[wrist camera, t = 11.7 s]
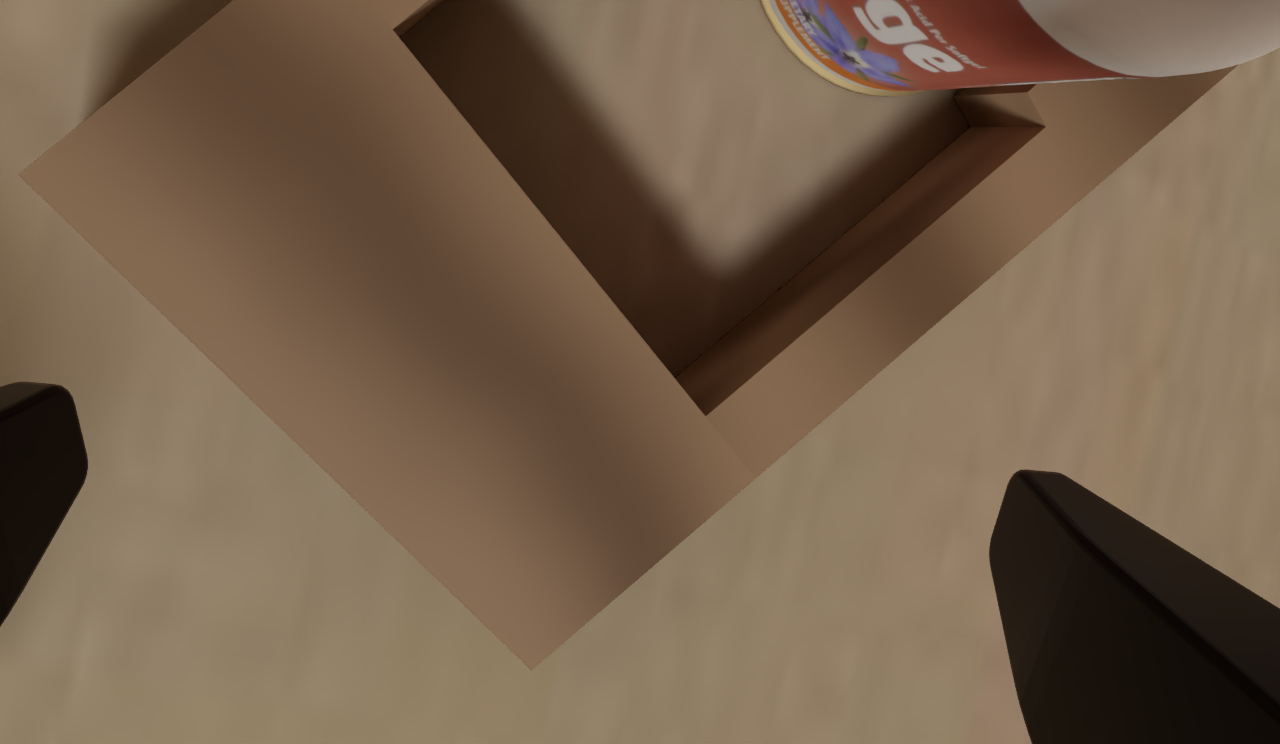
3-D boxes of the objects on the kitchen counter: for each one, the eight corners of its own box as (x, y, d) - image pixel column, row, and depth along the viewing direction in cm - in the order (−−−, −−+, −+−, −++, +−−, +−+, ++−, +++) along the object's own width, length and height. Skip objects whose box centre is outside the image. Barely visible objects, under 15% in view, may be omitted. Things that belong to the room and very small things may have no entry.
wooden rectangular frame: (515, 608, 21) (531, 670, 18) (71, 167, 16) (18, 174, 14) (1196, 27, 21) (1296, 14, 19) (936, -536, 17) (1023, -642, 15)
